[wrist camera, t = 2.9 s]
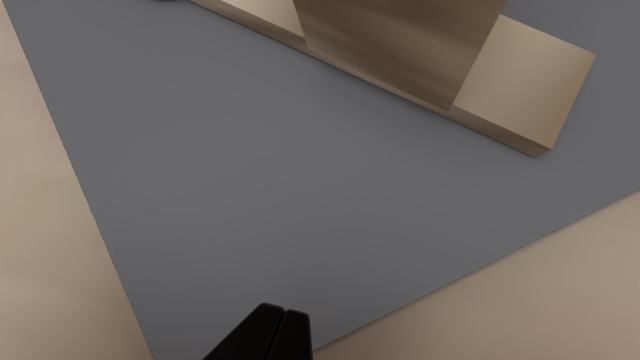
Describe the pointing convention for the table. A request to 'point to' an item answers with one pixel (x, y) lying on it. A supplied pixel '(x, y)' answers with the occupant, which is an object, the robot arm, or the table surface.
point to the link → (437, 58)
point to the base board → (306, 164)
